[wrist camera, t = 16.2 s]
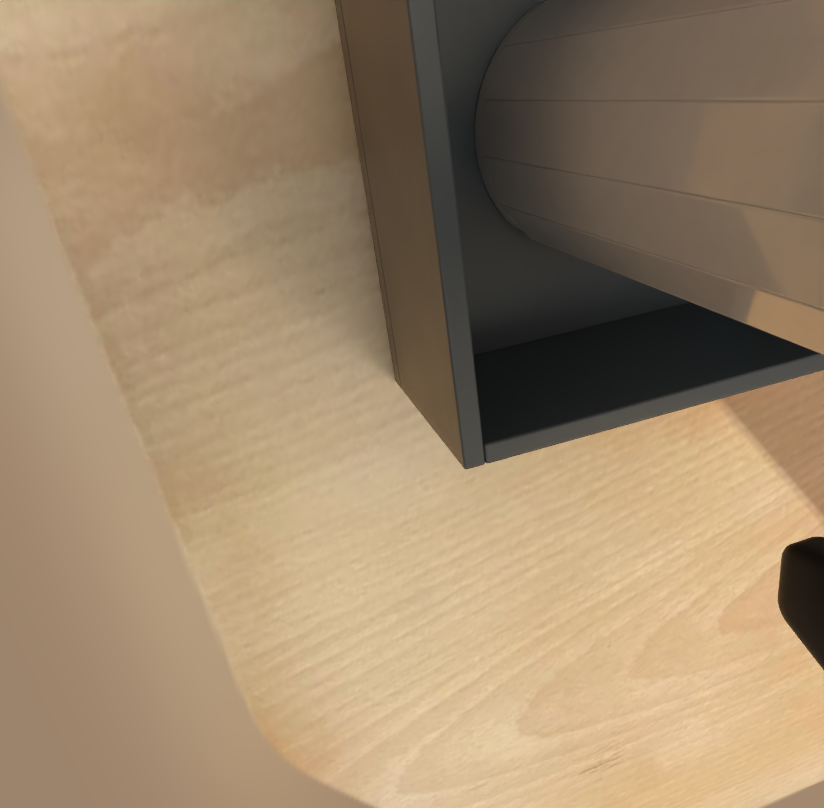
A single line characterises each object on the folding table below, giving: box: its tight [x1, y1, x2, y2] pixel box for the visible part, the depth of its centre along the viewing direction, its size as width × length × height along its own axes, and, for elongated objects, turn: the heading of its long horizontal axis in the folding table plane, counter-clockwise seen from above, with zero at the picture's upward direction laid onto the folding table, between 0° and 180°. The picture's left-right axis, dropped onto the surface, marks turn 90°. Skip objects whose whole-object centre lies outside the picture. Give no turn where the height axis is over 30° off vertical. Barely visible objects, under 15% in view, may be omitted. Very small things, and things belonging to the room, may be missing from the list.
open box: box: [335, 0, 824, 469], centre depth 17 cm, size 12×12×6 cm
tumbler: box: [475, 0, 824, 355], centre depth 13 cm, size 6×6×13 cm
